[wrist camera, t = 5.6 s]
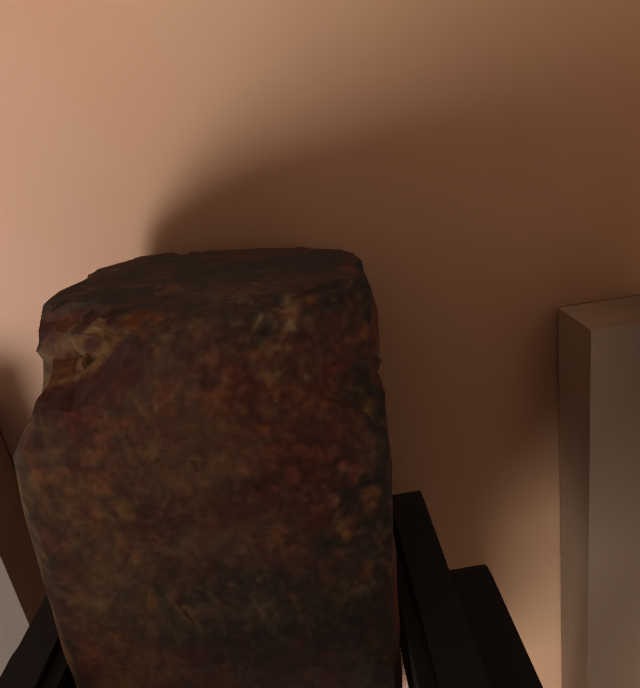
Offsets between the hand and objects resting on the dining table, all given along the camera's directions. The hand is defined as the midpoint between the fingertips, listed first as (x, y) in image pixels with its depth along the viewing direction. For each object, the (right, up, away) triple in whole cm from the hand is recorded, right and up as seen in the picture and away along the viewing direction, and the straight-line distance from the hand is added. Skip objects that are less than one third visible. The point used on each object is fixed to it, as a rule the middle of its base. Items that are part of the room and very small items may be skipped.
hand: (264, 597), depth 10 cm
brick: (0, +1, +2) cm, 2 cm away
